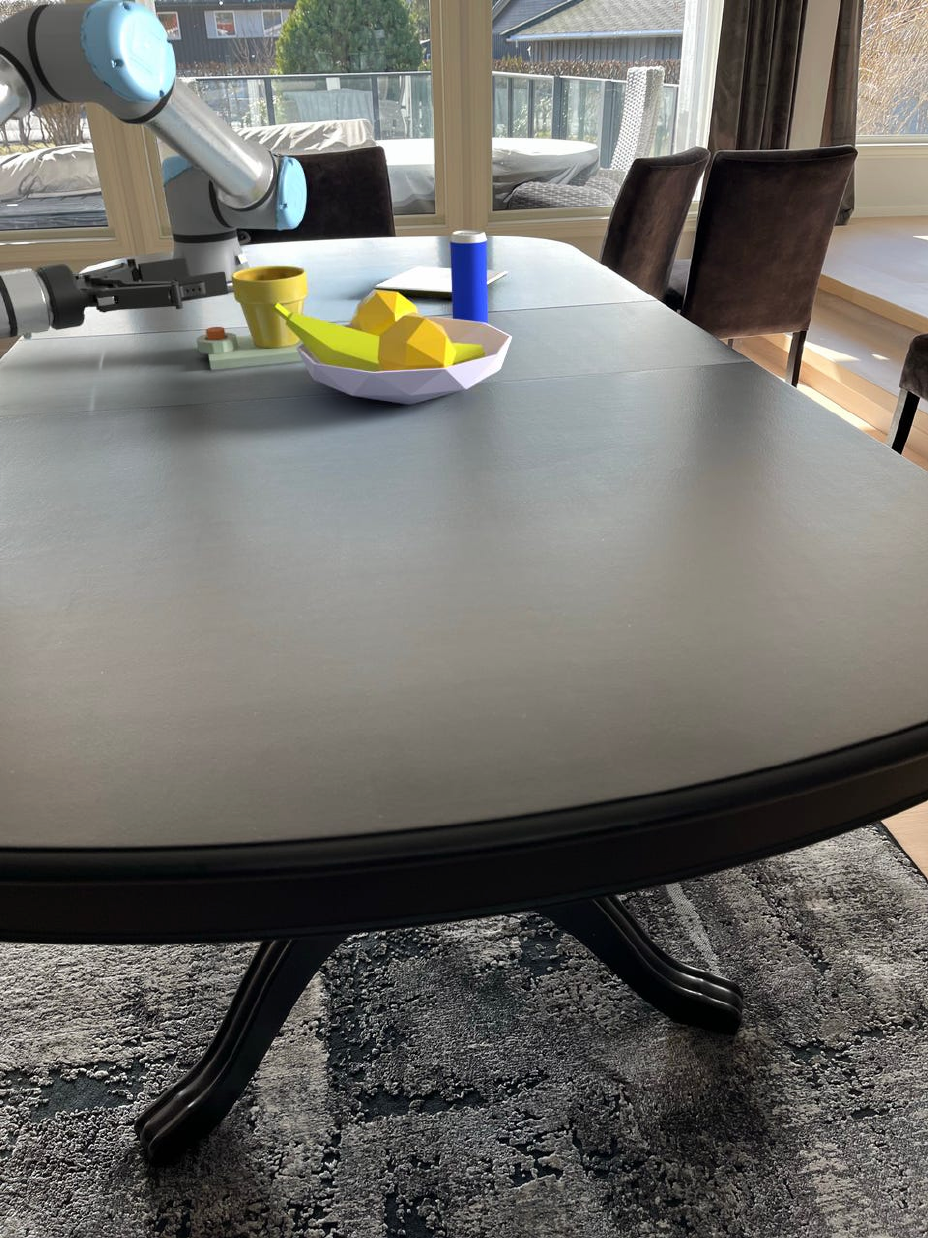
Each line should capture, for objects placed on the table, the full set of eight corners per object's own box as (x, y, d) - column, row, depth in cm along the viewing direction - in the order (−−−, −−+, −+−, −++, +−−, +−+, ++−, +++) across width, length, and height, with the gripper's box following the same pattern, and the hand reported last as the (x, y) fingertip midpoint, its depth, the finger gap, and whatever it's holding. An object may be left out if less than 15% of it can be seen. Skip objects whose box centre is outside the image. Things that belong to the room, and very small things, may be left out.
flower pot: (298, 353, 131) (290, 280, 126) (229, 351, 133) (218, 279, 128) (323, 334, 140) (316, 265, 135) (257, 332, 142) (248, 264, 137)
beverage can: (492, 336, 142) (491, 230, 134) (481, 345, 137) (479, 235, 130) (460, 334, 143) (457, 229, 135) (448, 343, 139) (444, 235, 131)
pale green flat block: (198, 349, 140) (195, 329, 139) (314, 338, 144) (312, 318, 142) (201, 371, 130) (197, 349, 129) (325, 358, 134) (323, 337, 132)
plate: (373, 297, 167) (373, 285, 166) (417, 277, 182) (417, 266, 181) (471, 304, 161) (471, 291, 160) (508, 282, 176) (508, 270, 174)
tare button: (207, 338, 135) (205, 327, 134) (225, 336, 136) (223, 325, 135) (207, 342, 133) (205, 331, 132) (226, 341, 134) (224, 330, 133)
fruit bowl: (524, 361, 130) (525, 275, 124) (483, 427, 107) (482, 326, 101) (332, 354, 135) (324, 272, 130) (255, 416, 113) (241, 319, 107)
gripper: (25, 312, 127) (176, 289, 138) (79, 350, 110) (248, 319, 120) (10, 254, 123) (166, 234, 134) (63, 283, 106) (239, 257, 116)
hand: (205, 274), depth 127 cm, fingers open, 13 cm apart
